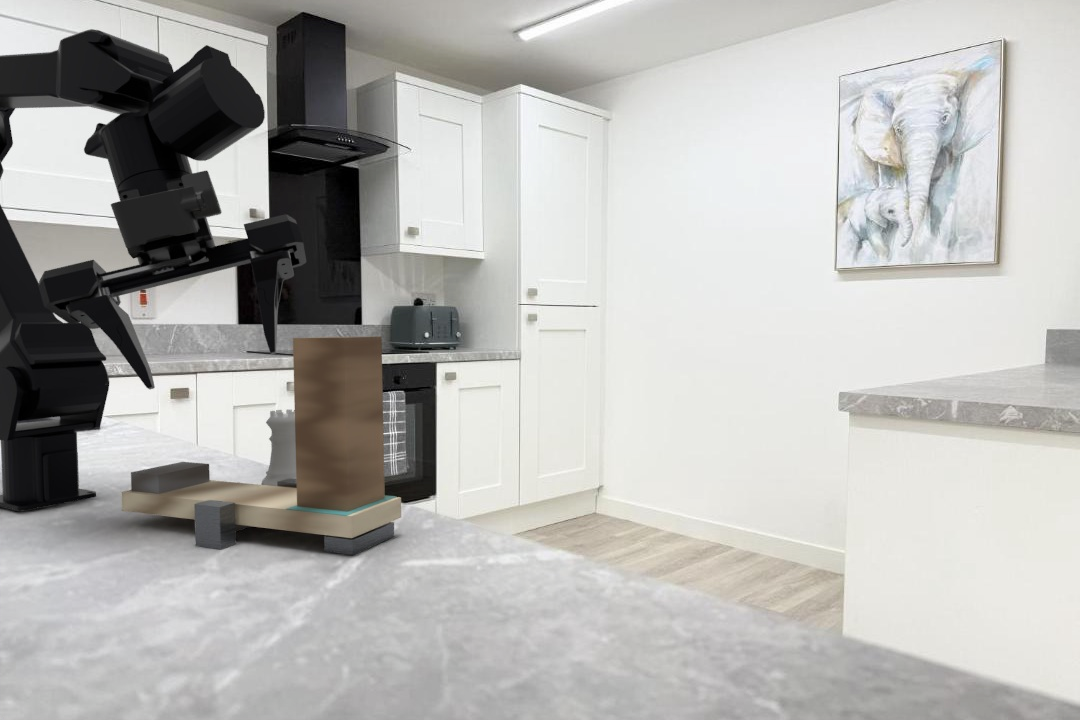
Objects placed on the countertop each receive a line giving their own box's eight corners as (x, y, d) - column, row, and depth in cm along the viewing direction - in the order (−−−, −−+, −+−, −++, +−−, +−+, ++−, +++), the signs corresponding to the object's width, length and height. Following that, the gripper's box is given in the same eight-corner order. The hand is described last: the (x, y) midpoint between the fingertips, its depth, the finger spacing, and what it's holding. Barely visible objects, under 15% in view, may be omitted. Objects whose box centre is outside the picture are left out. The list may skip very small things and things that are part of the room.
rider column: (297, 506, 54) (292, 338, 54) (336, 493, 58) (332, 336, 58) (348, 511, 53) (344, 337, 52) (384, 498, 57) (381, 336, 56)
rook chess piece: (296, 505, 67) (294, 414, 67) (250, 503, 68) (248, 413, 68) (320, 494, 71) (319, 408, 71) (277, 492, 72) (275, 407, 72)
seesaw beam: (122, 520, 60) (120, 473, 60) (184, 503, 66) (183, 460, 66) (351, 549, 52) (350, 494, 52) (401, 527, 57) (400, 477, 57)
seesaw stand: (195, 545, 55) (194, 504, 55) (289, 513, 64) (289, 478, 64) (330, 565, 50) (329, 520, 50) (411, 528, 59) (411, 489, 59)
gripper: (-21, 169, 51) (42, 391, 49) (265, 113, 56) (330, 311, 54) (43, 228, 61) (96, 412, 60) (278, 176, 67) (333, 344, 65)
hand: (213, 370), depth 59 cm, fingers open, 9 cm apart
